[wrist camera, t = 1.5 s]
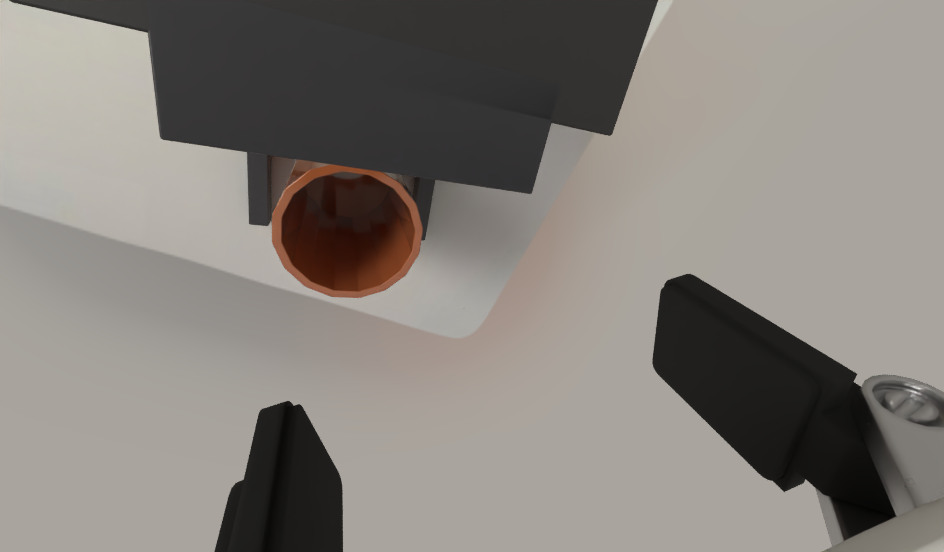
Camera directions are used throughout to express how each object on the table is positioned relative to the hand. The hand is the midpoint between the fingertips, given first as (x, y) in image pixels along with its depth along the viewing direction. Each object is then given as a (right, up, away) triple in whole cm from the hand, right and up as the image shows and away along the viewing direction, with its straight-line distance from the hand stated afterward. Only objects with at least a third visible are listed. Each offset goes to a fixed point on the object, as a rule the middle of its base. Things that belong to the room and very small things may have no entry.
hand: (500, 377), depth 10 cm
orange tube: (-10, +10, +19) cm, 24 cm away
